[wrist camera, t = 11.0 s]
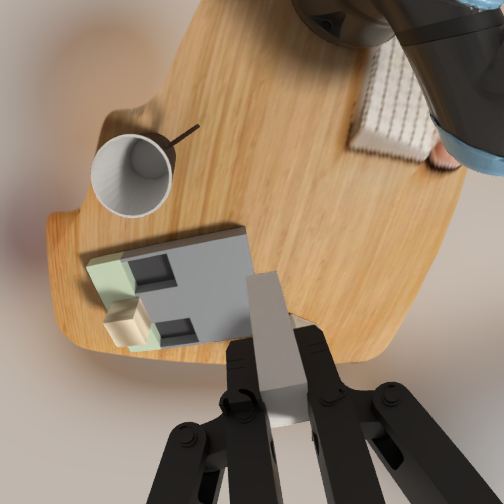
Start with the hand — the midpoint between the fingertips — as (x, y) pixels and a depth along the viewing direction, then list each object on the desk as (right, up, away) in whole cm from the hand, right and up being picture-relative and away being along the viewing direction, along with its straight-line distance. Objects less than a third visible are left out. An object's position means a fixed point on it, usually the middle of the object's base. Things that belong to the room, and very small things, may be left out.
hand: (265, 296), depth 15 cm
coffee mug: (-12, +15, +21) cm, 28 cm away
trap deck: (-12, -4, +31) cm, 34 cm away
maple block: (-19, -7, +29) cm, 36 cm away
